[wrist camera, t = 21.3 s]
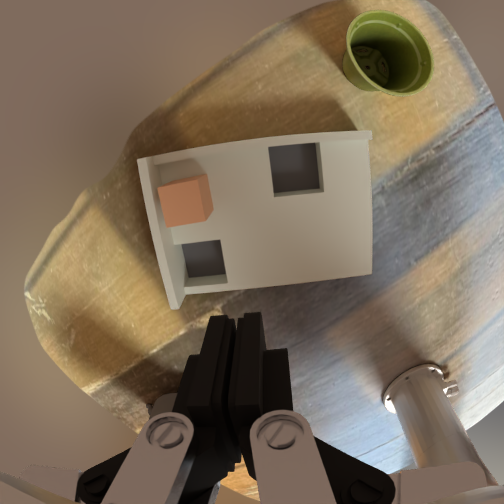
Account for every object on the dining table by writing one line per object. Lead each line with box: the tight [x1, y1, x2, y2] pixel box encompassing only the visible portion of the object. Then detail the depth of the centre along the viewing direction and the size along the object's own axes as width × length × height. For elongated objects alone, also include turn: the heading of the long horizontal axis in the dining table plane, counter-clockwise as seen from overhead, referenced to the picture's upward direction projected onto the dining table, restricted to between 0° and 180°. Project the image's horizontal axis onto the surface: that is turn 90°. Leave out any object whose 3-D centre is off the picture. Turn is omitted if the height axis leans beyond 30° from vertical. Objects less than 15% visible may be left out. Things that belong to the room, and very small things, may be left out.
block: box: [157, 174, 214, 228], centre depth 30 cm, size 4×4×5 cm
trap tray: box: [137, 130, 373, 309], centre depth 33 cm, size 24×17×6 cm
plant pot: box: [342, 10, 434, 97], centre depth 25 cm, size 9×9×9 cm
